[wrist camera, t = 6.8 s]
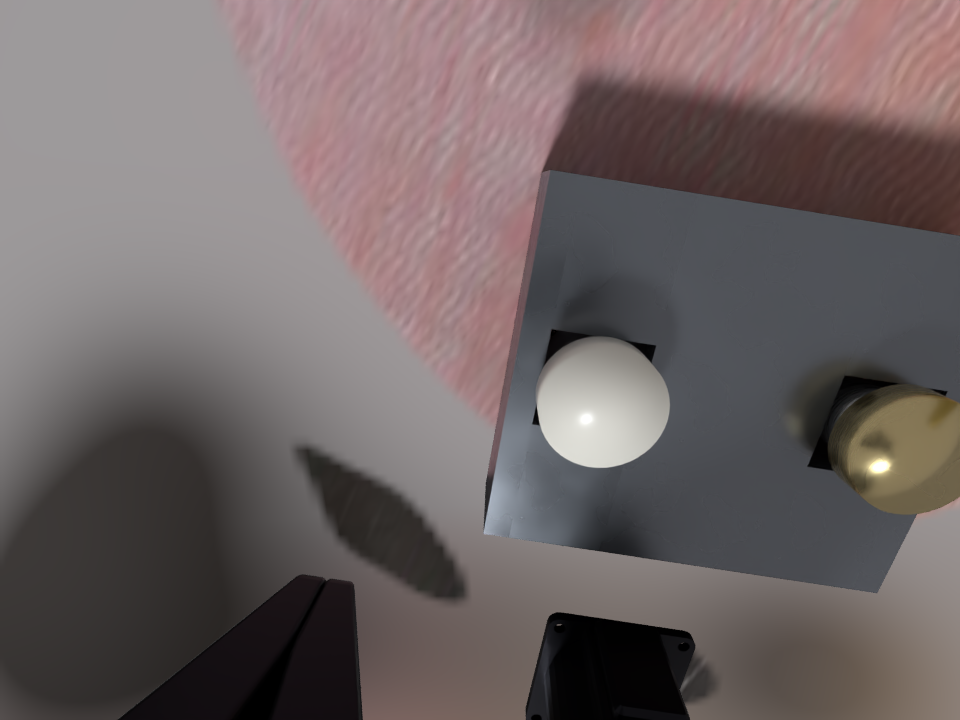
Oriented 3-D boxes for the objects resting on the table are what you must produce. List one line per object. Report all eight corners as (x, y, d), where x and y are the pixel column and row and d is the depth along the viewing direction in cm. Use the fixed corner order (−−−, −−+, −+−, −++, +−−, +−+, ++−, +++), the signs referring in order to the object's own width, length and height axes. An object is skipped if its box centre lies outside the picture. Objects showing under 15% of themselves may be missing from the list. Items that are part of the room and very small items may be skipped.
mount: (823, 534, 21) (877, 593, 18) (485, 483, 21) (483, 533, 18) (953, 239, 17) (1050, 250, 14) (541, 172, 17) (550, 169, 14)
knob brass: (847, 443, 20) (955, 523, 15) (754, 429, 20) (834, 504, 15) (885, 354, 18) (1014, 411, 14) (787, 339, 18) (883, 391, 14)
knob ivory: (614, 407, 19) (650, 476, 15) (521, 392, 19) (527, 457, 15) (638, 315, 18) (685, 360, 14) (538, 300, 18) (552, 338, 14)
